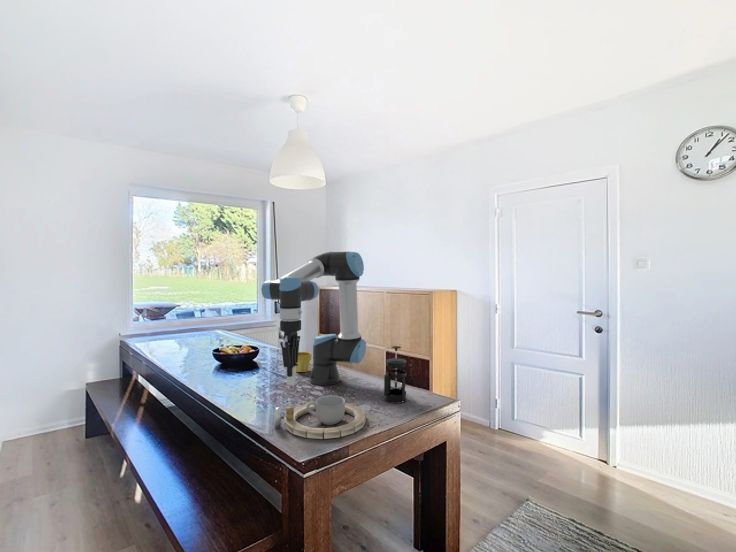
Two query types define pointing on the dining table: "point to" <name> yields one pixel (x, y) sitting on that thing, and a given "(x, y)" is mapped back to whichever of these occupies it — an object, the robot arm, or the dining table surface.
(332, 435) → the ring
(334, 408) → the teacup
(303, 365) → the plant pot
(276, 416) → the shiny cylinder
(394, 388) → the french press
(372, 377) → the dining table surface
